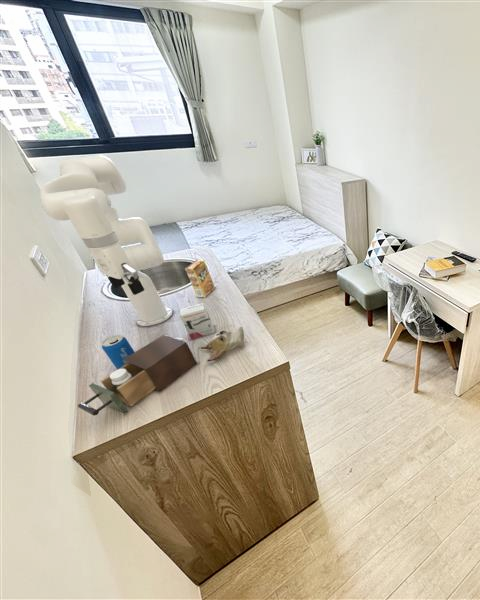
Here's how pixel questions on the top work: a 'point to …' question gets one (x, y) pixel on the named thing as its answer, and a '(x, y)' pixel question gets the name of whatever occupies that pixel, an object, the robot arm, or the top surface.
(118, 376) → the pill bottle
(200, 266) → the candy box
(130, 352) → the beverage can
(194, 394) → the top surface
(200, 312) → the ink box
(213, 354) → the ceramic sculpture
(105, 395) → the drawer
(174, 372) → the cabinet
